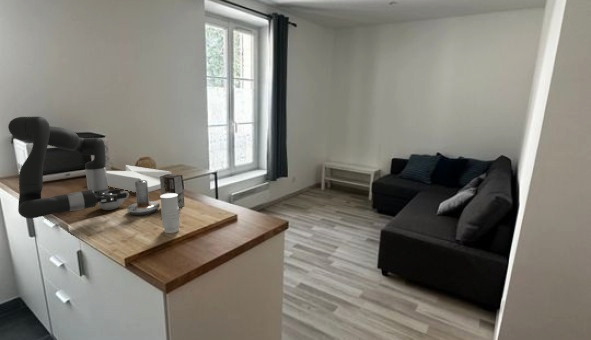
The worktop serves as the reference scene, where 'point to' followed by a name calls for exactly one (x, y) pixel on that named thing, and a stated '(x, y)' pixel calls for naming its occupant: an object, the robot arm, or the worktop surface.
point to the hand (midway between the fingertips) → (123, 193)
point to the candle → (170, 212)
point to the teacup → (113, 203)
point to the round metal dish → (143, 209)
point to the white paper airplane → (135, 178)
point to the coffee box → (173, 186)
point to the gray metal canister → (142, 193)
